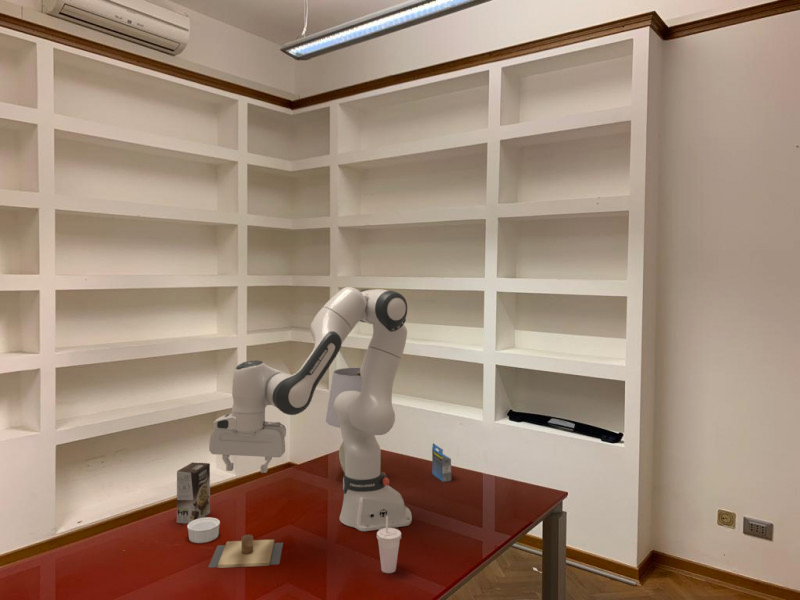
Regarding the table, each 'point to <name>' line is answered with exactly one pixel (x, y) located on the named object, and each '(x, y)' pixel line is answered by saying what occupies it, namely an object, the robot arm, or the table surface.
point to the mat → (274, 560)
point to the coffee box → (193, 492)
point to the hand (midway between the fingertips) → (246, 471)
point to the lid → (246, 553)
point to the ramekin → (203, 530)
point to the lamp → (340, 382)
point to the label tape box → (441, 464)
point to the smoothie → (388, 547)
